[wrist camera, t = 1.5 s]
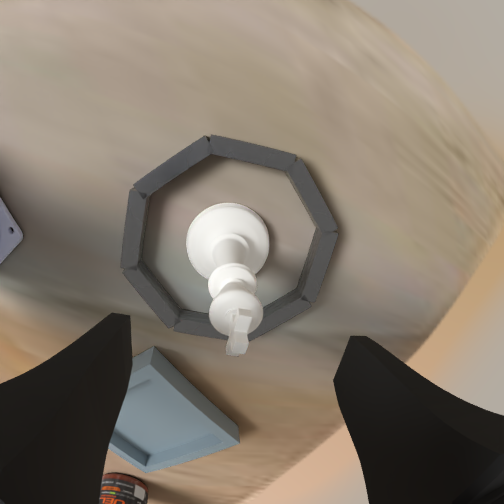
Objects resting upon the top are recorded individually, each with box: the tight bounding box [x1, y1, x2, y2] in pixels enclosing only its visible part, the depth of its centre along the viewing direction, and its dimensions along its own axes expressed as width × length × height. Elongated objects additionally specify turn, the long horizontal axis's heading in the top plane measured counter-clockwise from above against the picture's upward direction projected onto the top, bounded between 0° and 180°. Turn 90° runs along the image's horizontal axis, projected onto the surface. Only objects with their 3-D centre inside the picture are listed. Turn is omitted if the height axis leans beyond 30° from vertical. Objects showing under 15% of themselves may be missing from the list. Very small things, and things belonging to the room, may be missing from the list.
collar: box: [121, 135, 338, 341], centre depth 19 cm, size 12×12×1 cm
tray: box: [108, 347, 240, 473], centre depth 23 cm, size 11×11×2 cm
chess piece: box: [186, 203, 269, 357], centre depth 14 cm, size 5×5×10 cm
